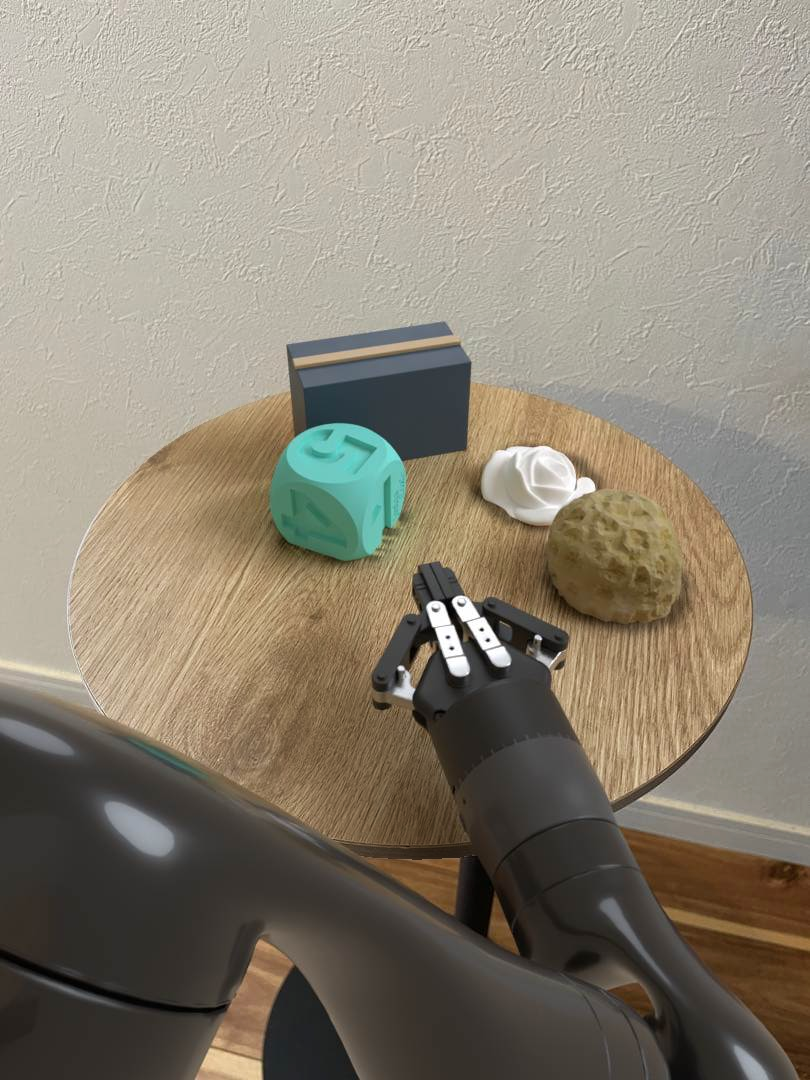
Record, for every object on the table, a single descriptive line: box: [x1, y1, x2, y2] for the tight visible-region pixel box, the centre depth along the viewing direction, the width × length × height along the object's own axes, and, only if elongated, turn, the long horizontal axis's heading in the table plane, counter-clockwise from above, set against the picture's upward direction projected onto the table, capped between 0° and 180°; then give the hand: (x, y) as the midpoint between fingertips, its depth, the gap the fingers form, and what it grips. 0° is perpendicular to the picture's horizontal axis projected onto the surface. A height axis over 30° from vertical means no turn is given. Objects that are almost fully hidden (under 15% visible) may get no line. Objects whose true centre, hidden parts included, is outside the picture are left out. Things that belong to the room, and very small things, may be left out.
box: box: [286, 321, 473, 462], centre depth 83 cm, size 14×7×10 cm, turn 106°
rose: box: [480, 445, 596, 527], centre depth 80 cm, size 10×4×10 cm
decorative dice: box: [269, 423, 407, 562], centre depth 76 cm, size 8×8×8 cm
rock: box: [547, 487, 685, 625], centre depth 71 cm, size 10×11×10 cm
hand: (427, 572), depth 64 cm, fingers closed
